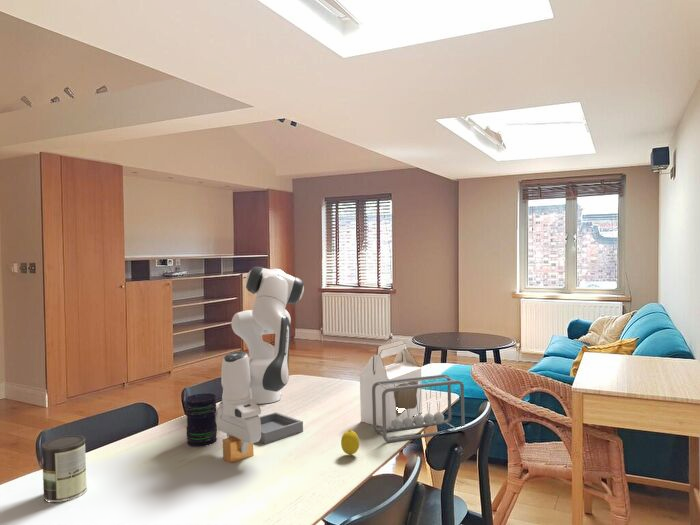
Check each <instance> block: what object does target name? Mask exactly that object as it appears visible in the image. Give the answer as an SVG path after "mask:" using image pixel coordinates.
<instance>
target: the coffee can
mask: <svg viewBox="0 0 700 525" xmlns="http://www.w3.org/2000/svg"><path fill="white" fill-rule="evenodd" d="M40 448H41V457H42V459H41V460H42V461H41V462H42V480H43V482H42V483H43V484H42V486H43V488H42V489H43V500H44V499H45V500H47V501H50V502H60V503H62V502H61V501H66V502H68V501H67V500H69V501H72V500H71V499H73V500H75V499H77V498H80V497H81V496H83V495H84V494H85V493H86V492H87V491H88V486H87V460H86V458H87V457H86V437H85V436H84V435H82V434H81V435H80V434H70V435H69V434H68V435H62V436H58V437H54V438H51V439H48V440H47V441H45V442H43V443H42V444H41V446H40ZM79 496H80V497H79ZM74 498H75V499H74Z"/></svg>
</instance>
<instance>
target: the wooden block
mask: <svg viewBox="0 0 700 525" xmlns="http://www.w3.org/2000/svg"><path fill="white" fill-rule="evenodd" d="M241 446H242V443H241V440H240V439H238V438H236V437H234V436H233V437H230V438H227V437H226V438H224V439H222V460H224V461H225V462H226V461H227V462H228V463H230V464H232V463H235V462H239V461H241V460H245V459H246V458H249V457H252V456H254V443H252V444H248V446H247V453H244V454H242V453H241V452H240V447H241Z"/></svg>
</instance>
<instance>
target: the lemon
mask: <svg viewBox="0 0 700 525" xmlns="http://www.w3.org/2000/svg"><path fill="white" fill-rule="evenodd" d="M340 445H341V450H343V452H344V453H345V454H346V455H348V456H349V455H350V457H351V455H354V454H356V453H357V452H358V450H359V447H360V439H359V436H358V434H357V432H355V431H353V430H352V429H348V430H346V431H345V432H344V433H343V434H342V436H341V441H340Z"/></svg>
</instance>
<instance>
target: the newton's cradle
mask: <svg viewBox="0 0 700 525" xmlns="http://www.w3.org/2000/svg"><path fill="white" fill-rule="evenodd" d="M439 379H440V380H441V379H446V381H445V380H444V381H439ZM430 380H434V382H429V381H430ZM414 381H415V382H416V381H421V382H422V381H424V382H425V383H421V384H417V385H409V384H408V386H399V387H395V384H396V383H405V382H414ZM426 382H427V383H426ZM387 384H394V387H391V388H386V387H384V386H383V385H387ZM406 384H407V383H406ZM457 384H458V385H459V387H460V415H461V416H460V417H461V418H460V419H461V420H460V422H461V423H460V427H462V426H465V425H466V422H465V421H466V420H465V419H466V418H465V385H464V383H463V382H462V381H461V380H458V379H457V380H455V379H453V378H451V377H450V375H448V374H436V375H429V376H427V375H425V376H421V377H417V378H408V379H398V380H389V381H380V382H376V383H374V385H373V386H372V407H373V424H372V430H373V431H374V432H375V433H376V434H380V435H382V437H383V438H382V439H383V441H385V442H386V443H395V442H396V443H397V442H402V441H407V440H408V441H410V440H416V439H421V438H428V437H436V435H437V434H439V433H440V432H443V431H444V430H441V431H434V432H427V433H421V434H420V433H419V434H414V435H407V436H399V437H395V438H393V437H392V438H389V437H388V436H387V433H390V432H397V431H398V430H399V431H404V430H405V429H406V430H413V429H418V428H427V427H431V426H432V427H434V426H440V425H449V427H451V428H453V430H454V429H457V427H455V426H454V425H452V424H450V422H451V420H452V392H451V391H452V390H451V389H452V388H451V387H452V386H451V385H457ZM377 385H381V386H382V387H384V388H385V390H384V391H383V393H382V418H383V427H382V429H377V425H376V397H375V388H376V386H377ZM397 386H398V385H397ZM443 386H447V415H448V416H447V419H445V416H444V414H443V413H442V412H441V411H440V409H441V408H440V407H441V403H439V404H438V402H436V405H437V408H438V411H437V412H435V413H433V414H432V413H431V412H430V410H431V404H429V406H428V403H426V405H427V407H426V408H427V409H428V412H427V413H425V414H424V416H423V415H420V414H418V415H416V416H414V417H410V416H406V417H405V418H404V419H403V422H402V420H401V419H400V418H398V415H397V412H396V418H394V419H393V420H392V428H386V400H385V395H386V393H387V392H391V391H399V396H400V390H405V394H406V390H408V389H410V391H411V389H415V391H416V389H417V388H420V395H421V388H422V389H423V388H424V390H427V388H433V387H434V388H435V390H437V388H436V387H443ZM431 391H432V389H430V391H429V392H430V393H429V394H430V395H429V398H431V397H432V396H431V394H432V392H431ZM439 392H440V393H439V397H441V395H442V394H441V393H442V389H440V391H439ZM425 395H426V397H425V398H426V400H428V395H427V393H425ZM435 397H436V399H438V395H437V393H435ZM416 400H417V396H416ZM395 404H396V397H395ZM406 404H407V399H406ZM398 408H399V402H398ZM409 408H410V400H409ZM417 410H418V406H417ZM419 411H420V404H419ZM407 414H408V409H407ZM412 428H413V429H412ZM437 436H438V435H437Z"/></svg>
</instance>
